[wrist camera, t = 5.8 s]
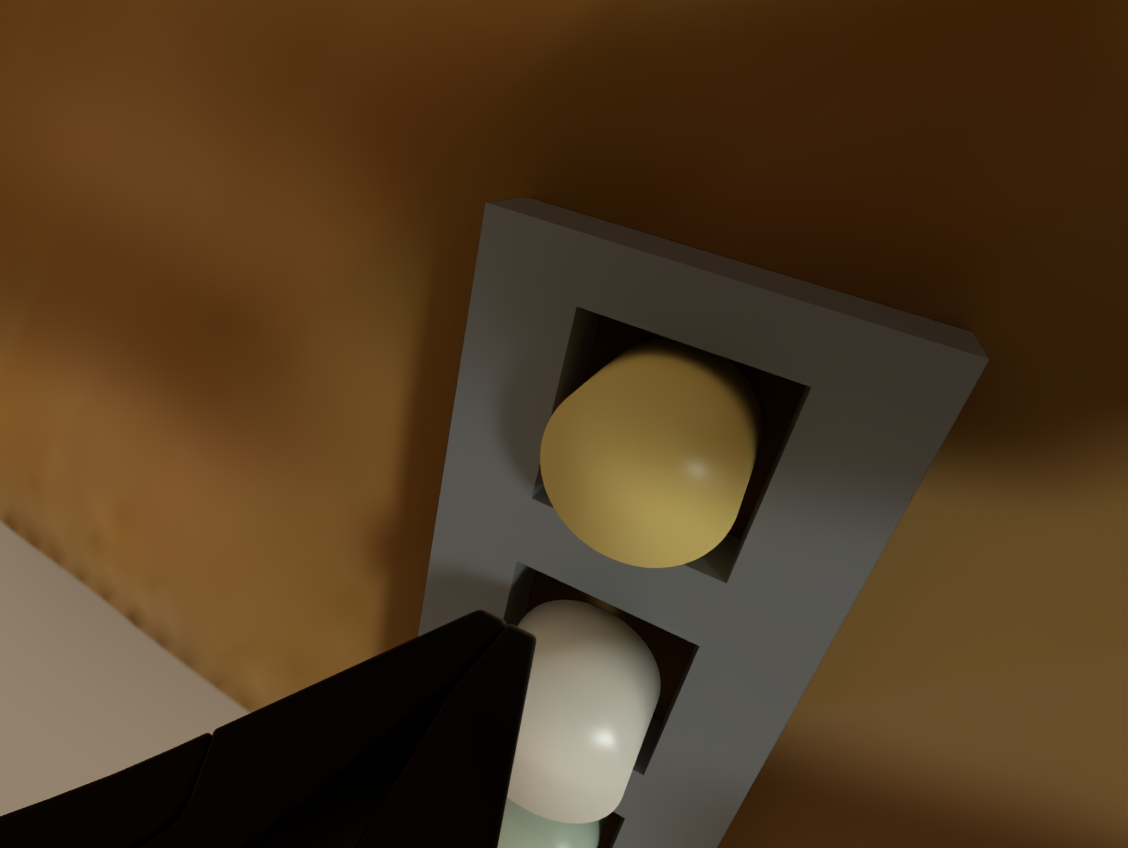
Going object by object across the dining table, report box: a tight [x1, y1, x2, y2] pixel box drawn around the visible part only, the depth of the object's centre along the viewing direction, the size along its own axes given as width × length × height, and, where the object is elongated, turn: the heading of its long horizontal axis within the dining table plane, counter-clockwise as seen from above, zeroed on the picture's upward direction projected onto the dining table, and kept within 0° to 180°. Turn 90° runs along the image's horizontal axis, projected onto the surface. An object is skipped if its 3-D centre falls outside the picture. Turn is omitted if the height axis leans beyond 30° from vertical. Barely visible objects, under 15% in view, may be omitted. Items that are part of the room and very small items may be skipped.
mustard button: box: [540, 339, 763, 568], centre depth 14 cm, size 4×4×3 cm
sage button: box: [498, 798, 610, 848], centre depth 21 cm, size 4×4×3 cm
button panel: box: [418, 197, 989, 848], centre depth 18 cm, size 10×22×2 cm, turn 167°
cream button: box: [507, 600, 661, 824], centre depth 16 cm, size 4×4×3 cm
